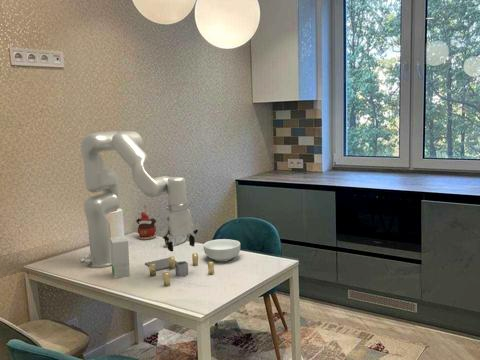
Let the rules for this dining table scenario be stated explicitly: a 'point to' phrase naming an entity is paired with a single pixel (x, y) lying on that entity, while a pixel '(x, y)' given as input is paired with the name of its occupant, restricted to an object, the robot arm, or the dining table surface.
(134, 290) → the dining table surface
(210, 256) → the cereal bowl
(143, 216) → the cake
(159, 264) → the mat
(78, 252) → the dining table surface
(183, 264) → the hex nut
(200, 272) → the dining table surface
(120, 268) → the skincare box
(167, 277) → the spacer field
